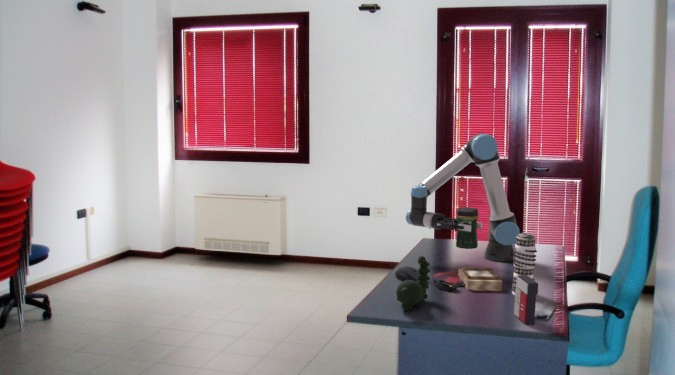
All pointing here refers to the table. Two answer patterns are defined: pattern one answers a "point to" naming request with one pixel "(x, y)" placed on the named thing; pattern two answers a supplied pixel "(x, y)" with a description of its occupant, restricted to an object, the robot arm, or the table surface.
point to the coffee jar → (465, 237)
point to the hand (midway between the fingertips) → (476, 227)
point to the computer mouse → (412, 274)
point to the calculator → (525, 299)
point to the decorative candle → (523, 257)
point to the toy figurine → (414, 287)
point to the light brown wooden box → (480, 279)
